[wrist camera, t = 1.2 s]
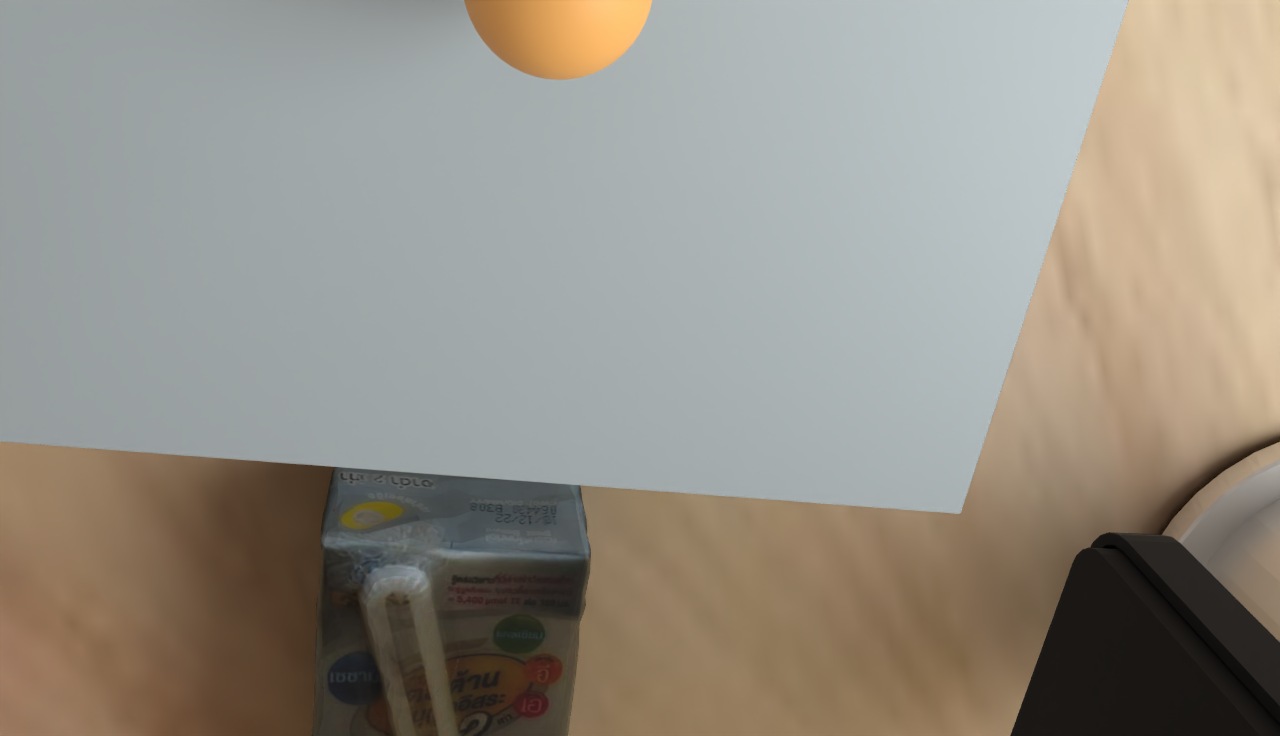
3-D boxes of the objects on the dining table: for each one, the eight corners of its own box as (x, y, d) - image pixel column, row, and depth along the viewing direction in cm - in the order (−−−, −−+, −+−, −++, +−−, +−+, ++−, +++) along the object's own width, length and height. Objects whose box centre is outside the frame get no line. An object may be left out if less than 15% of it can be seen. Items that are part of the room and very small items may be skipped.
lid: (1122, -29, 23) (1287, 4, 19) (951, 501, 29) (1045, 633, 24) (-139, -252, 19) (-348, -283, 14) (-67, 422, 24) (-201, 565, 20)
